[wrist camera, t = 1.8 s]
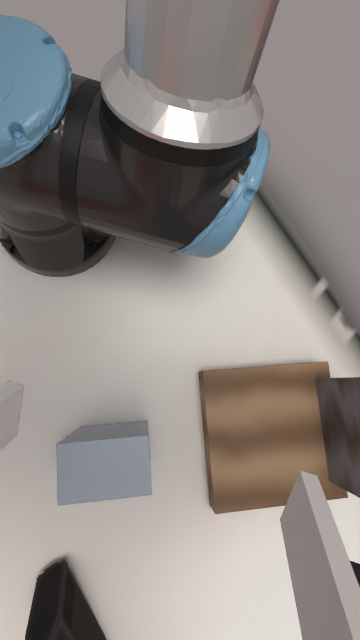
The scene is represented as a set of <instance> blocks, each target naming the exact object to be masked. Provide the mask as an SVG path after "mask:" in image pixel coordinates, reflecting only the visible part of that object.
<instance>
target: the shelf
mask: <svg viewBox="0 0 360 640" xmlns="http://www.w3.org/2000/svg"><path fill="white" fill-rule="evenodd" d="M199 379H200V391H201V403H202V415H203V427H204V439H205V450H206V462H207V474H208V486H209V498H210V506H211V507H212V509H213V511H214V513H215V514H220V513H228V512H236V511H244V510H252V509H260V508H268V507H276V506H284V505H286V504H287V501H288V499H289V496H290V494H291V492H292V489H293V487H294V484H295V482H296V479H297V477H298V475H299V472H300V471H304V472H307V473H310V474H313V475H317V476H318V479H319V482H320V484H321V487H322V489H323V492H324V495H325V497H326V500H332V499H340V498H348V495H347V491H348V492H350V493H352V494H354V495H356V496H357V497H359V498H360V377H355V378H330V372H329V366H328V362H316V363H303V364H290V365H277V366H263V367H250V368H237V369H224V370H210V371H200V372H199Z"/></svg>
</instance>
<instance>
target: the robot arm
mask: <svg viewBox="0 0 360 640" xmlns="http://www.w3.org/2000/svg"><path fill="white" fill-rule="evenodd" d="M279 1H280V0H126V19H125V48H124V49H123V50H122V51H121V52H119V53H118V54H117V55H116V56H115V57H113V58H112V59H111V60H110V61H109V62H108V63H107V64H106V66H105V67H104V69H103V71H102V74H101V82H99V81H96V80H92V79H89V78H86V77H83V76H79V75H76V74H73V73H71V67H70V64H69V60H68V58H67V57H66V55H65V53H64V52H63V51H62V50H61V48H60V47H59V46H58V45H56V43H55V41H54V38H53V37H52V36H51V35H50V34H49V33H48V32H47V31H45V30H44V29H43V28H41V27H40V26H38V25H36V24H34V23H32V22H30V21H28V20H25V19H21V18H18V17H13V16H4V15H0V242H1V244H2V246H3V247H4V249H5V250H6V251H7V252H8V253H9V254H10V255H11V256H12V257H13V258H14V259H15V260H16V261H17V262H18V263H19V264H21V265H22V266H24V267H25V268H27V269H29V270H31V271H33V272H35V273H38V274H42V275H46V276H56V277H61V276H69V275H74V274H77V273H80V272H83V271H85V270H87V269H89V268H91V267H92V266H94V265H95V264H96V263H98V262H99V261H100V260H101V259H102V258H103V257H104V256H105V255H106V253H107V252H108V251H109V249H110V247H111V245H112V243H113V241H114V238H115V236H118V237H122V238H125V239H129V240H132V241H135V242H139V243H142V244H146V245H149V246H153V247H156V248H160V249H163V250H167V251H169V252H172V253H175V254H181V253H183V254H188V255H193V256H198V257H205V258H207V257H212V256H214V255H217V254H218V253H220V252H221V251H222V250H224V249H225V248H226V247H227V245H228V244H229V243H230V242H231V241H232V239H233V238H234V236H235V235H236V233H237V232H238V230H239V228H240V227H241V225H242V223H243V221H244V220H245V218H246V216H247V214H248V212H249V210H250V207H251V205H252V198H253V196H254V195H255V193H256V192H257V190H258V188H259V186H260V183H261V181H262V178H263V175H264V172H265V168H266V165H267V161H268V156H269V149H270V139H269V137H268V135H267V133H266V132H264V131H263V130H262V129H261V128H259V127H260V125H261V122H262V119H263V112H264V109H263V103H262V101H261V98H260V96H259V94H258V92H257V89H256V87H255V85H254V83H253V79H254V76H255V73H256V70H257V67H258V64H259V61H260V58H261V55H262V52H263V49H264V46H265V43H266V40H267V37H268V34H269V31H270V28H271V25H272V22H273V19H274V16H275V13H276V10H277V7H278V4H279ZM23 390H24V385H21V384H18V383H14V382H11V381H8V382H6V383H5V384H3V385H2V386H0V451H1V450H2V449H3V448H4V447H5V446H6V445H7V444H8V443H9V442H10V441H11V440H12V439H14V438H15V437H16V436H17V430H18V423H19V416H20V410H21V403H22V396H23ZM280 522H281V527H282V532H283V538H284V543H285V548H286V554H287V559H288V564H289V570H290V575H291V580H292V585H293V591H294V596H295V601H296V607H297V612H298V617H299V622H300V628H301V633H302V638H303V640H360V564H358V563H355V562H352V561H349V558H348V555H347V553H346V550H345V547H344V545H343V542H342V539H341V537H340V534H339V532H338V529H337V526H336V524H335V521H334V518H333V516H332V513H331V511H330V508H329V505H328V503H327V500H326V497H325V495H324V492H323V489H322V487H321V484H320V482H319V479H318V476H317V475H313V474H310V473H307V472H304V471H300V472H299V475H298V477H297V479H296V482H295V484H294V487H293V489H292V492H291V494H290V496H289V499H288V501H287V504H286V506H285V509H284V511H283V513H282V516H281V518H280Z"/></svg>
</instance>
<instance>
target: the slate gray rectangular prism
mask: <svg viewBox="0 0 360 640" xmlns="http://www.w3.org/2000/svg"><path fill="white" fill-rule="evenodd" d="M146 495H152V488H151V471H150V454H149V437H148V426H147V421H138V422H127V423H116V424H105V425H94V426H83V427H80V428H78V429H77V430H76V431H74V432H73V433H71V434H70V435H69V436H67V437H66V438H65V439H63V440H62V441H60V442H59V443H58V444H57V498H58V506H59V505H68V504H76V503H85V502H94V501H102V500H111V499H120V498H128V497H137V496H146Z"/></svg>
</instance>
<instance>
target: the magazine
mask: <svg viewBox="0 0 360 640" xmlns="http://www.w3.org/2000/svg"><path fill="white" fill-rule="evenodd" d="M25 640H106V639H105V637H104V635H103V633H102V631H101V629H100V627H99V625H98V623H97V621H96V619H95V617H94V616H93V614H92V612H91V610H90V608H89V606H88V604H87V603H86V601H85V599H84V597H83V595H82V593H81V591H80V590H79V588H78V586H77V584H76V582H75V580H74V578H73V577H72V575H71V573H70V571H69V569H68V567H67V563H66V561H65V560H63V561H62V562H60V563H58V562H57V563H56V564H54V565H52V566H51V567H49V568H48V569H46V570H45V572H44V573H42V574H41V575H39V576H38V578H37V582H36V587H35V592H34V596H33V601H32V606H31V611H30V616H29V621H28V625H27V630H26V635H25Z"/></svg>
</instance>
